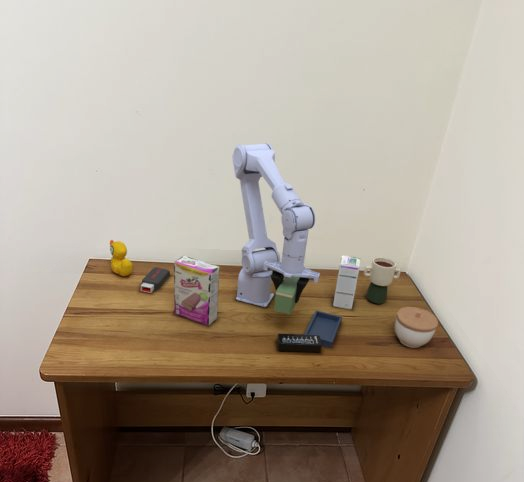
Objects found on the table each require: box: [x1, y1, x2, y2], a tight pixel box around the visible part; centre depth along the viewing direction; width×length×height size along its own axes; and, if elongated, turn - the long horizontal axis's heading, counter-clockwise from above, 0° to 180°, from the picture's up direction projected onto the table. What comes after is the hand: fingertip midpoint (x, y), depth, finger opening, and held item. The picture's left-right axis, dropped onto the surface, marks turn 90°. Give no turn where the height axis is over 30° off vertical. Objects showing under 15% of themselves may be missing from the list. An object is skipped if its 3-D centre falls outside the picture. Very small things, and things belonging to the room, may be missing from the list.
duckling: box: [109, 239, 134, 277], centre depth 149 cm, size 11×5×10 cm, turn 39°
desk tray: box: [303, 309, 343, 349], centre depth 133 cm, size 8×13×2 cm, turn 161°
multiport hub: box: [276, 333, 323, 353], centre depth 126 cm, size 4×11×2 cm, turn 92°
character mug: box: [362, 256, 402, 304], centre depth 147 cm, size 11×7×13 cm, turn 90°
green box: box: [273, 277, 299, 315], centre depth 129 cm, size 10×4×6 cm, turn 161°
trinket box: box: [394, 306, 439, 349], centre depth 131 cm, size 11×11×9 cm
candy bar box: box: [173, 255, 220, 327], centre depth 130 cm, size 11×5×16 cm, turn 65°
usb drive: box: [139, 266, 171, 294], centre depth 147 cm, size 5×12×3 cm, turn 167°
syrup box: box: [332, 255, 361, 310], centre depth 143 cm, size 6×6×14 cm
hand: (287, 299), depth 130 cm, fingers closed on green box, 4 cm apart
